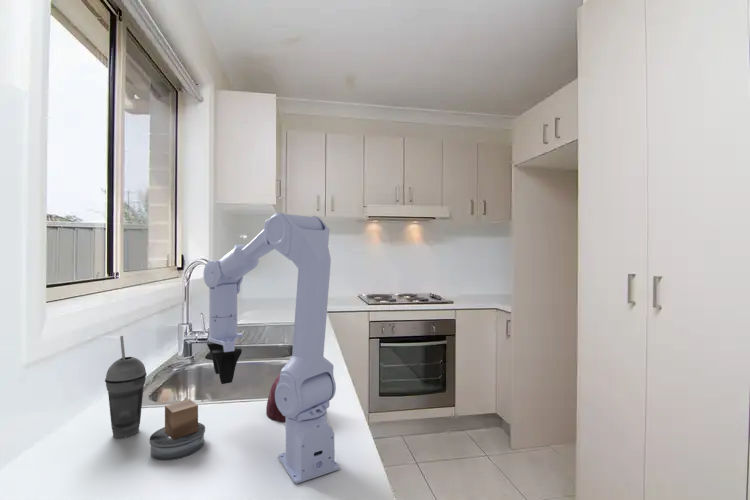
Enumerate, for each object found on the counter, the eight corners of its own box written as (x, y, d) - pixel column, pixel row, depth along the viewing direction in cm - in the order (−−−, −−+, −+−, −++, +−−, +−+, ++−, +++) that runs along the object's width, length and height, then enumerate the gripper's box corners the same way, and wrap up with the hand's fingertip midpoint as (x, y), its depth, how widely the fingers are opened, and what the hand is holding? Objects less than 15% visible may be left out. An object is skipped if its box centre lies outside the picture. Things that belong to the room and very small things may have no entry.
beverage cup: (125, 443, 73) (126, 340, 73) (95, 439, 74) (95, 339, 75) (154, 426, 80) (155, 333, 80) (126, 423, 82) (126, 331, 82)
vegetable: (313, 418, 91) (329, 357, 93) (300, 432, 81) (319, 363, 83) (273, 405, 92) (290, 345, 94) (256, 418, 82) (275, 350, 84)
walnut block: (198, 431, 72) (198, 405, 72) (172, 439, 69) (172, 412, 69) (189, 424, 75) (189, 399, 75) (164, 431, 72) (164, 405, 72)
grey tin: (208, 452, 70) (208, 436, 70) (150, 467, 65) (150, 450, 65) (201, 432, 78) (201, 417, 78) (148, 444, 73) (148, 429, 73)
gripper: (249, 318, 78) (249, 384, 77) (236, 309, 90) (236, 366, 90) (213, 321, 74) (213, 390, 74) (204, 312, 86) (204, 371, 86)
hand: (223, 377), depth 82 cm, fingers open, 7 cm apart
